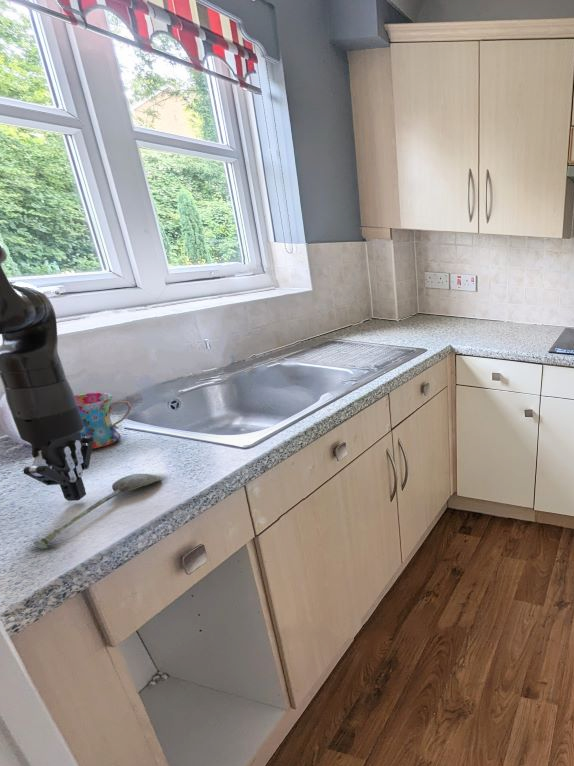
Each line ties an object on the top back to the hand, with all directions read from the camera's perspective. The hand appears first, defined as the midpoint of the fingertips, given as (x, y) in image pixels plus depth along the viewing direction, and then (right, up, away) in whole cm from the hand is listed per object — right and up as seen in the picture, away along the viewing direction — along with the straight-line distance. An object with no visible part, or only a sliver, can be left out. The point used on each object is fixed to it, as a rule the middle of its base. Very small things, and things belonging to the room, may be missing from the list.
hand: (76, 498), depth 80 cm
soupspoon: (+6, -2, -1) cm, 7 cm away
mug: (-16, +8, +22) cm, 28 cm away
